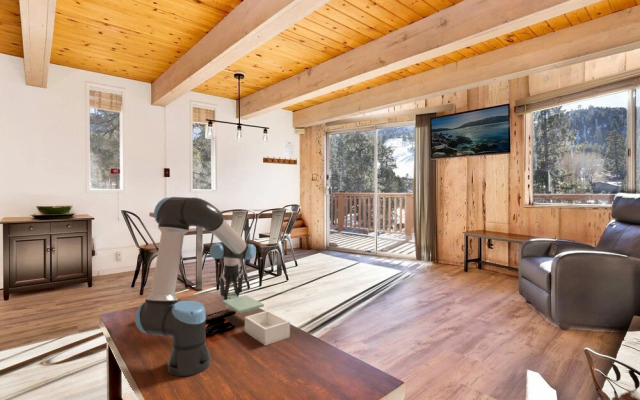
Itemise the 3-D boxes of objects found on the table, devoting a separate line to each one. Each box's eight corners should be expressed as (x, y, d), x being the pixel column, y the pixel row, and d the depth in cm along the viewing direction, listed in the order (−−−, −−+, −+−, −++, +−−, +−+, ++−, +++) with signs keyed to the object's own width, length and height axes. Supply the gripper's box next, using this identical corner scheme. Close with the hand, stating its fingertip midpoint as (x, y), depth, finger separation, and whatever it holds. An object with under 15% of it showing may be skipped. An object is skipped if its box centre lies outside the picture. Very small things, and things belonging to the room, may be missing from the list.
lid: (263, 308, 169) (263, 303, 169) (239, 315, 160) (239, 310, 160) (240, 296, 187) (240, 291, 187) (217, 301, 178) (217, 297, 178)
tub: (289, 336, 152) (289, 321, 151) (265, 345, 143) (265, 329, 143) (268, 324, 165) (268, 310, 165) (244, 331, 157) (244, 316, 156)
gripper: (242, 261, 189) (242, 301, 190) (213, 265, 177) (213, 308, 178) (248, 263, 183) (248, 305, 184) (219, 268, 172) (219, 312, 173)
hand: (231, 307), depth 181 cm, fingers closed on lid, 4 cm apart
